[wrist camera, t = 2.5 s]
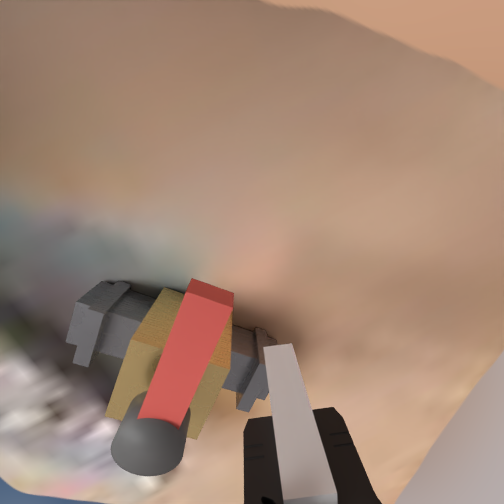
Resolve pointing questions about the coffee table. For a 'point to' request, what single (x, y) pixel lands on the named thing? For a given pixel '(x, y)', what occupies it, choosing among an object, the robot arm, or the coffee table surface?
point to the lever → (173, 385)
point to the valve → (152, 345)
